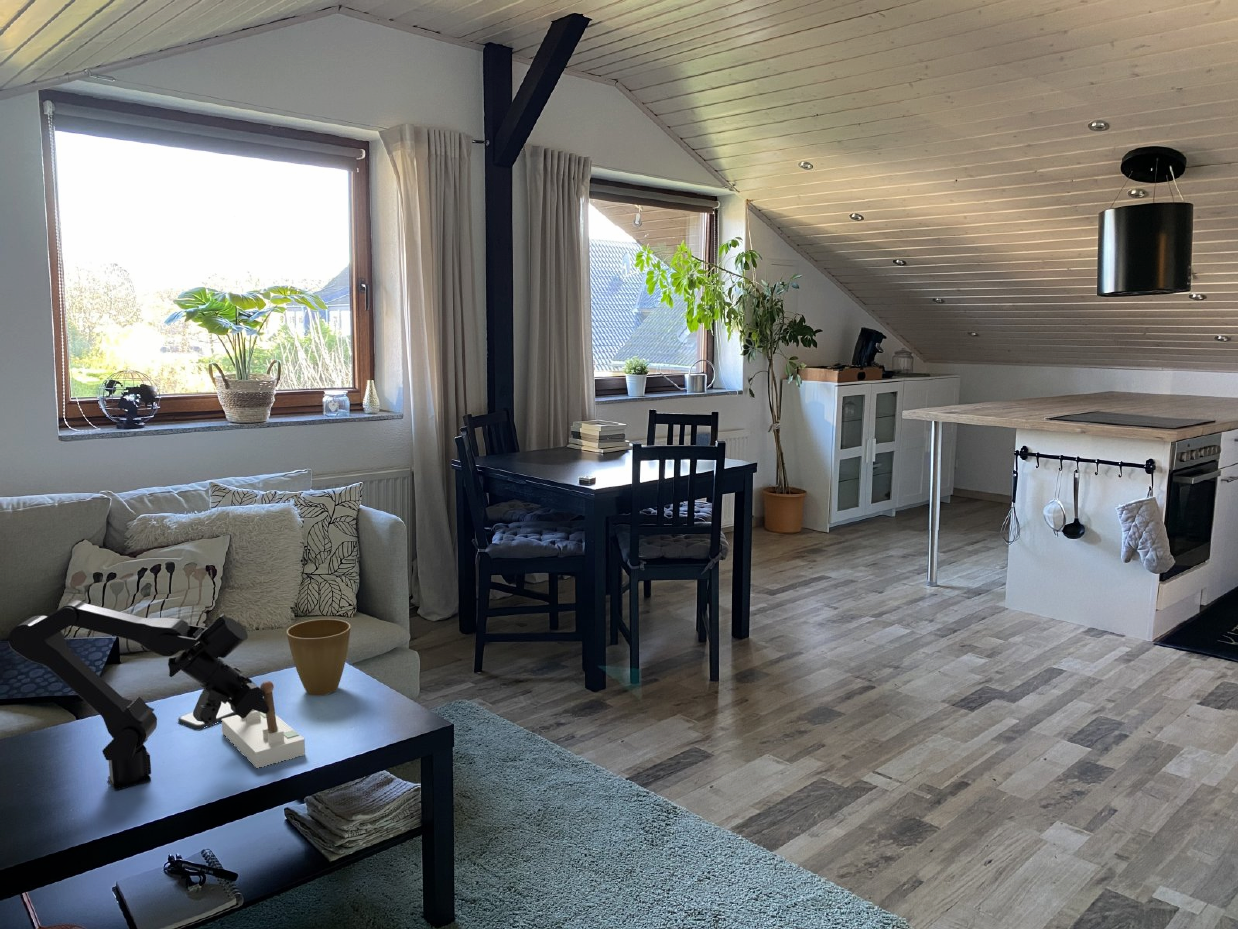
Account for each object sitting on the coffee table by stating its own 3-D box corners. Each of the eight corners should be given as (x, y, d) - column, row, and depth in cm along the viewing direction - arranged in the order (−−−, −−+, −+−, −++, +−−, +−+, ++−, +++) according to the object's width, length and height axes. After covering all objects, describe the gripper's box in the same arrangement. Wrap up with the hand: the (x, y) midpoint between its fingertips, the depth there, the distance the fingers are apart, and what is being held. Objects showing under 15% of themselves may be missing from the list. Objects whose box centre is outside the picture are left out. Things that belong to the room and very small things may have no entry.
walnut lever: (269, 738, 195) (262, 685, 193) (264, 734, 197) (257, 681, 195) (281, 734, 197) (274, 681, 194) (277, 730, 198) (270, 677, 196)
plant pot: (281, 689, 235) (277, 626, 232) (339, 675, 244) (336, 615, 242) (302, 707, 223) (299, 641, 221) (362, 692, 232) (360, 629, 230)
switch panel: (256, 769, 191) (255, 743, 190) (222, 734, 208) (220, 710, 207) (305, 755, 197) (304, 730, 197) (268, 722, 214) (266, 699, 213)
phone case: (198, 733, 210) (261, 708, 223) (198, 726, 210) (260, 702, 223) (176, 724, 215) (238, 700, 228) (175, 717, 215) (238, 694, 228)
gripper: (167, 691, 191) (226, 730, 199) (191, 719, 176) (254, 760, 184) (206, 645, 195) (263, 686, 203) (233, 669, 180) (293, 712, 188)
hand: (267, 711), depth 194 cm, fingers closed
